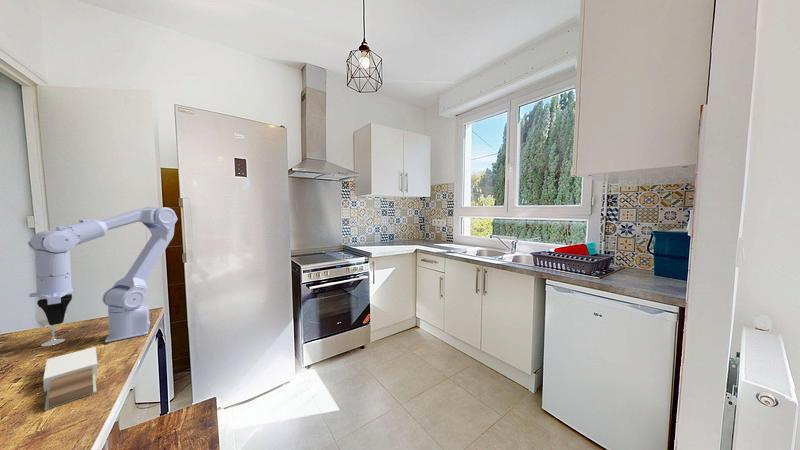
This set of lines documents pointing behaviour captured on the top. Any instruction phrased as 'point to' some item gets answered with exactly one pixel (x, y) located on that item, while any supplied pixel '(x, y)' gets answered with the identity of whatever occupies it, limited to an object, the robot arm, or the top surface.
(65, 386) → the tan cardboard slab
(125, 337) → the robot arm
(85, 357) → the tray
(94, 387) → the mat
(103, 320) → the top surface
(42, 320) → the wineglass
